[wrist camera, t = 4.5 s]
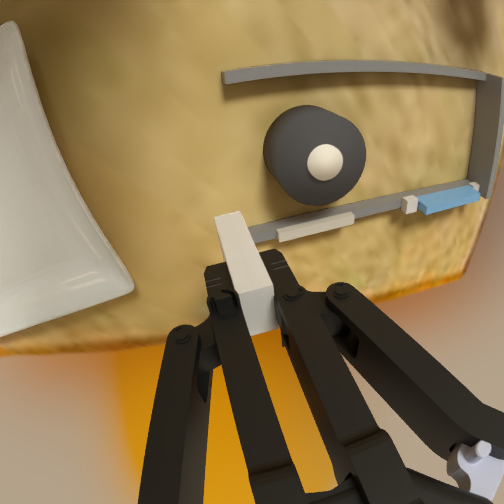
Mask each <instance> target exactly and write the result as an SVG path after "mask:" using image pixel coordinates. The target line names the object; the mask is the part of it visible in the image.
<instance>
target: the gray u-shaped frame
mask: <svg viewBox="0 0 504 504" xmlns="http://www.w3.org/2000/svg"><path fill="white" fill-rule="evenodd" d="M332 72H407V73H424V74H436V75H446V76H455V77H463V78H471V79H477V96H476V112H475V123H474V133H473V142H472V150H471V157H470V164H469V170H468V176H467V179H464V180H459V181H454V182H449V183H444V184H439V185H434V186H430V187H425V188H420V189H415V190H410V191H406V192H401V193H396V194H391V195H387V196H382V197H378V198H373V199H368V200H364V201H359V202H355V203H350V204H346V205H341V206H337V207H333V208H328V209H324V210H319V211H315V212H311V213H306V214H302V215H298V216H293V217H289V218H285V219H281V220H277V221H272V222H268V223H264V224H260V225H256V226H252V227H247V228H248V230H249V232H250V235H251V237H252V239H253V241H254V243H259V242H263V241H267V240H271V239H275V238H277V239H278V241H279V242H284V241H288V240H292V239H296V238H300V237H304V236H308V235H312V234H316V233H320V232H324V231H328V230H331V229H335V228H339V227H343V226H347V225H351V224H354V219H356V218H360V217H365V216H369V215H373V214H377V213H381V212H385V211H389V210H393V209H398V208H401V210H402V211H403V212H404V213H405V214H409V213H413V212H417V208H418V209H419V210H420V211H421V212H423V213H424V214H425V215H428V214H431V213H435V212H439V211H443V210H446V209H450V208H454V207H457V206H461V205H465V204H468V203H472V202H476V201H479V199H480V196H482V197H483V198H485V199H489V198H491V194H492V189H493V185H494V180H495V175H496V170H497V165H498V159H499V153H500V147H501V140H502V132H503V124H504V78H502V77H499V76H496V75H492V74H489V73H486V72H482V71H476V70H471V69H465V68H459V67H452V66H444V65H436V64H427V63H417V62H404V61H387V60H322V61H304V62H291V63H280V64H270V65H262V66H254V67H246V68H239V69H233V70H227V71H221V73H222V80H223V83H224V84H231V83H237V82H244V81H250V80H257V79H265V78H273V77H281V76H291V75H302V74H315V73H332Z"/></svg>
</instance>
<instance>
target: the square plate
mask: <svg viewBox="0 0 504 504" xmlns="http://www.w3.org/2000/svg"><path fill="white" fill-rule="evenodd" d="M134 288H135V284H134V281H133V279H132V277H131V275H130V274H129V272H128V270H127V268H126V267H125V265H124V264H123V262H122V261H121V259H120V258H119V256H118V255H117V253H116V252H115V250H114V249H113V247H112V246H111V244H110V243H109V241H108V240H107V238H106V236H105V235H104V233H103V232H102V230H101V229H100V227H99V225H98V224H97V222H96V221H95V219H94V217H93V215H92V213H91V212H90V210H89V209H88V207H87V205H86V203H85V201H84V200H83V198H82V196H81V195H80V193H79V191H78V189H77V187H76V185H75V183H74V181H73V179H72V177H71V175H70V173H69V171H68V169H67V166H66V164H65V162H64V160H63V157H62V155H61V153H60V151H59V148H58V146H57V143H56V141H55V139H54V136H53V134H52V131H51V129H50V126H49V123H48V120H47V118H46V115H45V112H44V109H43V106H42V103H41V100H40V97H39V93H38V90H37V87H36V85H35V81H34V78H33V74H32V71H31V68H30V64H29V60H28V57H27V53H26V49H25V46H24V42H23V39H22V36H21V33H20V30H19V27H18V26H17V24H16V22H15V21H8V22H6V23H4V24H2V25H1V26H0V337H3V336H6V335H9V334H12V333H15V332H18V331H20V330H23V329H26V328H29V327H32V326H35V325H38V324H41V323H44V322H47V321H50V320H53V319H56V318H59V317H62V316H65V315H68V314H71V313H74V312H77V311H80V310H83V309H86V308H89V307H92V306H95V305H98V304H101V303H103V302H106V301H109V300H112V299H115V298H118V297H120V296H123V295H126V294H128V293H130V292H132V291H133V290H134Z"/></svg>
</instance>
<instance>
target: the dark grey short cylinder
mask: <svg viewBox="0 0 504 504" xmlns="http://www.w3.org/2000/svg"><path fill="white" fill-rule="evenodd" d="M263 155H264V160H265V163H266V166H267V168H268V170H269V171H270V172H271V174H272V175H273V176H274V178H275V179H276V180H277V181H278V183H279V184H280V185H281V186H282V187H283V189H284V190H285V191H286V192H287V193H288V195H289V196H291V197H292V198H293V199H294V200H296V201H298V202H300V203H303V204H306V205H313V206H319V205H326V204H329V203H332V202H334V201H337V200H338V199H340V198H342V197H343V196H345V195H346V194H347V193H348V192H349V191H350V190H351V189H352V188H353V187H354V186H355V185H356V183H357V182H358V180H359V178H360V177H361V174H362V172H363V169H364V166H365V161H366V148H365V143H364V139H363V137H362V135H361V133H360V131H359V130H358V129H357V127H356V126H355V125H354V124H353V123H351V122H350V121H349V120H347V119H346V118H343V117H341V116H339V115H337V114H334V113H332V112H330V111H327V110H325V109H323V108H320V107H317V106H312V105H302V106H297V107H294V108H291V109H289V110H287V111H285V112H284V113H282V114H281V115H280V116H279V117H277V118H276V119H275V121H274V122H273V123H272V124H271V126H270V127H269V129H268V131H267V133H266V136H265V140H264V145H263Z"/></svg>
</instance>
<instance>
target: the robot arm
mask: <svg viewBox="0 0 504 504" xmlns="http://www.w3.org/2000/svg"><path fill="white" fill-rule="evenodd" d="M214 220H215V224H216V228H217V233H218V237H219V241H220V246H221V250H222V254H223V258H224V262H223V263H219V264H215V265H211V266H207V267H206V270H205V272H204V277H205V282H206V287H207V293H208V297H207V306H208V309H209V312H210V315H209V317H208V318H207V319H206V320H205V321H204V322H203V323H201V324H200V325H198V326H196V327H193V326H191V325H180V326H177V327H176V328H174V329H173V330H172V331H171V332H170V333H169V335H168V337H167V341H166V346H165V350H164V355H163V360H162V364H161V369H160V374H159V379H158V384H157V389H156V394H155V399H154V405H153V410H152V415H151V421H150V426H149V432H148V438H147V444H146V450H145V456H144V463H143V470H142V477H141V483H140V491H139V499H138V504H203V496H204V480H205V465H206V451H207V436H208V424H209V412H210V398H211V388H212V376H213V369H214V368H216V367H218V366H220V365H222V369H223V374H224V377H225V382H226V386H227V391H228V395H229V399H230V403H231V407H232V411H233V415H234V419H235V423H236V427H237V431H238V435H239V439H240V443H241V447H242V450H243V454H244V457H245V462H246V465H247V469H248V475H249V482H250V486H251V489H252V493H253V496H254V499H255V503H256V504H493V503H492V502H491V501H492V499H493V497H494V495H495V493H496V490H497V488H498V486H499V484H500V482H501V479H502V477H503V474H504V413H503V412H501V411H498V410H496V409H494V408H492V407H490V406H487V405H485V404H483V403H482V402H481V401H479V399H477V398H476V397H475V396H474V395H473V394H472V393H471V392H470V391H469V390H468V389H467V388H466V387H465V386H464V385H463V384H462V383H461V382H460V381H458V380H457V379H456V378H455V377H454V376H453V375H452V374H451V373H450V372H449V371H448V370H447V369H446V368H444V366H442V365H441V364H440V363H439V362H438V361H437V360H436V359H435V358H434V357H433V356H432V355H430V354H429V353H428V352H427V351H426V350H425V349H424V348H423V347H422V346H421V345H419V344H418V343H417V342H416V341H415V340H414V339H413V338H412V337H410V336H409V335H408V334H407V333H406V332H405V331H404V330H403V329H402V328H400V327H399V326H398V325H397V324H396V323H395V322H394V321H393V320H391V319H390V318H389V317H388V316H387V315H386V314H384V313H383V312H382V311H381V310H380V309H379V308H378V307H377V306H375V305H374V304H373V303H372V302H371V301H370V300H368V299H367V298H366V297H365V296H364V295H363V294H361V293H360V292H359V291H358V290H357V289H356V288H354V287H353V286H352V285H350V284H348V283H344V282H337V283H334V284H331V285H330V286H329V287H328V288H327V290H326V292H311V291H307V290H306V289H305V288H304V287H302V286H300V285H299V284H298V282H297V280H296V278H295V276H294V275H293V273H292V271H291V269H290V267H289V266H288V264H287V262H286V260H285V258H284V256H283V254H282V253H281V252H279V251H278V250H276V249H271V250H267V251H263V252H258V250H257V248H256V246H255V243H254V241H253V239H252V237H251V235H250V232H249V230H248V228H247V226H246V223H245V221H244V219H243V217H242V215H241V212H240V211H237V212H233V213H228V214H224V215H220V216H216V217H214ZM278 325H279V327H280V329H281V337H282V346H283V347H284V346H285V347H286V350H287V352H288V355H289V357H290V360H291V362H292V365H293V367H294V370H295V372H296V374H297V377H298V380H299V382H300V385H301V387H302V390H303V392H304V395H305V397H306V400H307V402H308V405H309V407H310V409H311V412H312V415H313V417H314V420H315V422H316V425H317V427H318V430H319V432H320V435H321V437H322V440H323V442H324V444H325V447H326V450H327V452H328V454H329V457H330V459H331V462H332V465H333V470H334V475H335V477H336V480H337V483H338V486H337V487H335V488H334V489H333V490H330V491H325V492H315V493H305V492H304V489H303V487H302V484H301V481H300V478H299V475H298V473H297V470H296V467H295V465H294V463H293V461H292V459H291V456H290V453H289V450H288V448H287V445H286V442H285V439H284V436H283V433H282V430H281V427H280V424H279V421H278V418H277V415H276V413H275V409H274V406H273V403H272V401H271V397H270V394H269V392H268V389H267V385H266V382H265V379H264V376H263V373H262V370H261V367H260V364H259V361H258V358H257V355H256V352H255V349H254V345H253V343H252V339H251V336H252V335H256V334H259V333H263V332H267V331H270V330H274V329H277V328H278ZM341 354H342V355H343V356H344V357H345V358H346V359H347V360H348V361H349V363H350V364H351V365H352V366H353V367H354V368H355V369H356V370H357V371H358V372H359V373H360V374H361V376H362V377H363V378H364V379H365V380H366V381H367V382H368V383H369V384H370V385H371V386H372V387H373V388H374V390H375V391H376V392H377V393H378V394H379V395H380V396H381V397H382V398H383V399H384V400H385V401H386V402H387V403H388V405H389V406H390V407H391V408H392V409H393V410H394V411H395V412H396V413H397V414H398V415H399V416H400V417H401V419H403V421H404V422H405V423H406V424H407V425H408V426H409V427H410V428H411V429H412V430H413V431H414V432H415V434H416V435H417V436H418V437H419V438H420V439H421V440H422V441H423V442H424V443H425V444H426V445H427V446H428V447H429V448H430V449H431V450H432V451H433V452H435V453H436V454H437V455H439V456H440V457H441V458H443V459H445V460H446V461H447V473H448V475H449V476H451V477H452V478H453V479H454V480H456V482H457V484H458V486H459V488H457V487H454V486H451V485H449V484H446V483H444V482H441V481H439V480H436V479H434V478H431V477H429V476H426V475H424V474H422V473H419V472H417V471H414V470H412V469H410V468H406V467H405V465H404V463H403V461H402V459H401V457H400V455H399V453H398V451H397V449H396V447H395V445H394V443H393V441H392V439H391V437H390V436H389V434H388V433H387V432H386V431H385V430H383V429H380V428H379V427H378V425H377V423H376V421H375V419H374V417H373V415H372V414H371V411H370V410H369V407H368V406H367V404H366V402H365V400H364V398H363V396H362V394H361V392H360V390H359V388H358V386H357V384H356V382H355V380H354V378H353V376H352V375H351V372H350V371H349V369H348V367H347V365H346V363H345V362H344V359H343V357H342V355H341Z"/></svg>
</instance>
